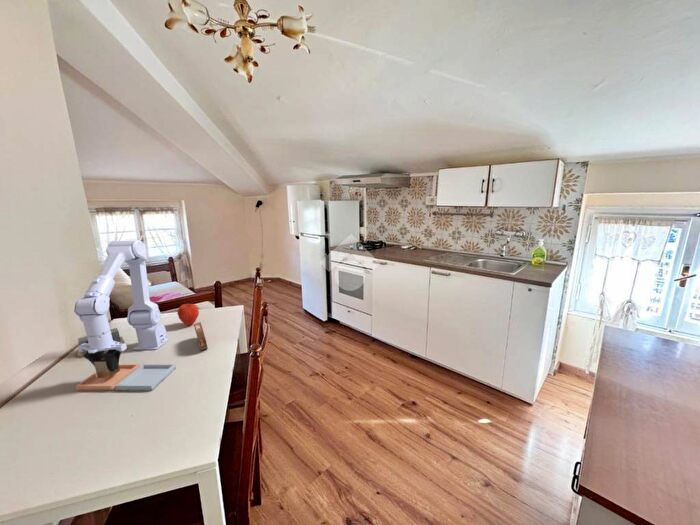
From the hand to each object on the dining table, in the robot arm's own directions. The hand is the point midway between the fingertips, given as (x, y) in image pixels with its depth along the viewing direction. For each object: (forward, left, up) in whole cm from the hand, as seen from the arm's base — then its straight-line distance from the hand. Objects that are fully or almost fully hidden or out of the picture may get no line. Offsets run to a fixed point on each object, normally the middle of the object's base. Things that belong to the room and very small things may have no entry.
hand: (108, 369), depth 92 cm
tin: (-19, -22, -4) cm, 29 cm away
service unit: (+22, -20, -4) cm, 30 cm away
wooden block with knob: (0, 0, -2) cm, 2 cm away
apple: (-3, -40, -4) cm, 40 cm away
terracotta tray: (0, 0, -4) cm, 4 cm away
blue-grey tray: (-13, 0, -4) cm, 13 cm away
